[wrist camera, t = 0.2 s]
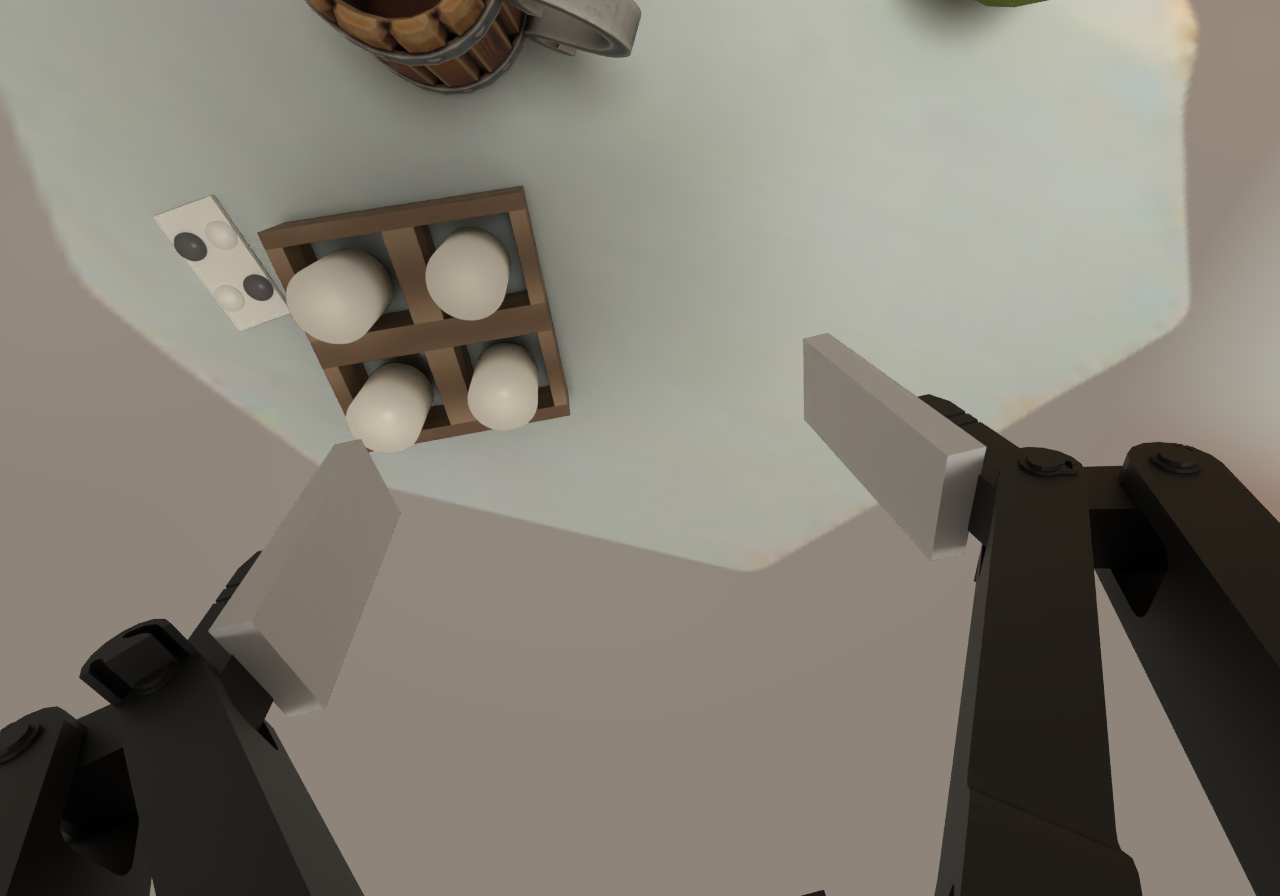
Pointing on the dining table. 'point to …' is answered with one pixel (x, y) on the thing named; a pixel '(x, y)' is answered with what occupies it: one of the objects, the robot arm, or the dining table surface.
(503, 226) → the dining table surface
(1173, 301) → the dining table surface
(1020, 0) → the apple
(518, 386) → the button
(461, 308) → the button
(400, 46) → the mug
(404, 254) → the wooden compartment tray
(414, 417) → the button
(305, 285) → the button
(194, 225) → the card
